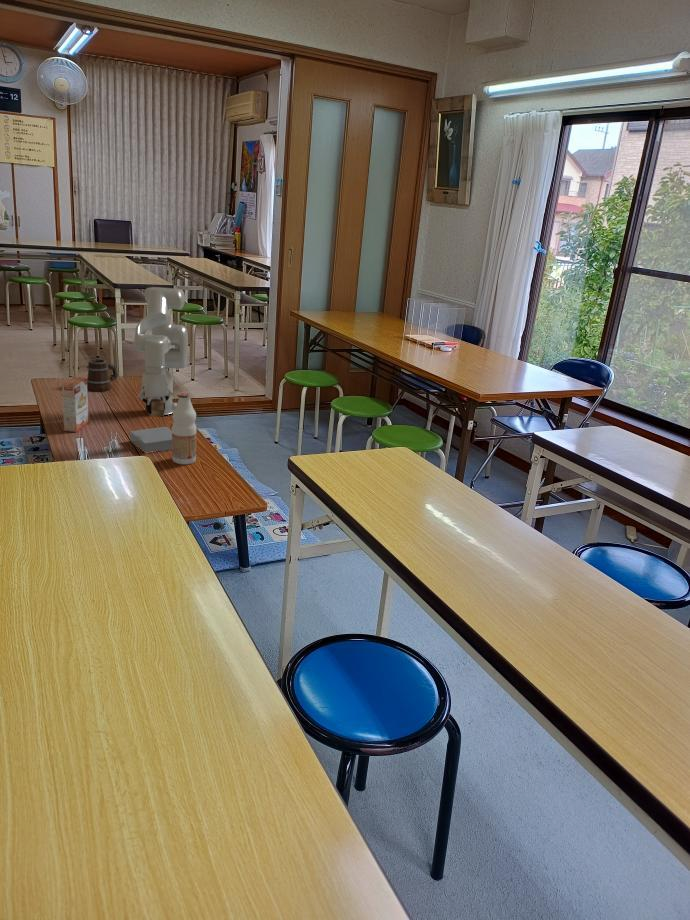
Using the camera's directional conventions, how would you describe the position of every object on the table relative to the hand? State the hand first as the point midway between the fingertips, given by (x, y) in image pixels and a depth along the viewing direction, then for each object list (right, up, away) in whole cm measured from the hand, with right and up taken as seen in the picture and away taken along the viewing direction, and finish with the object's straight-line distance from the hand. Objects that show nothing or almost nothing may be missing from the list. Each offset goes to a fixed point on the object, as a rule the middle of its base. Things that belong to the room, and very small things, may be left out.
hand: (155, 412), depth 280 cm
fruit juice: (+14, -20, -8) cm, 26 cm away
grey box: (-1, -14, +6) cm, 15 cm away
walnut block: (0, -1, 0) cm, 1 cm away
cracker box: (-39, -6, +17) cm, 43 cm away
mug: (-48, +17, +74) cm, 90 cm away
